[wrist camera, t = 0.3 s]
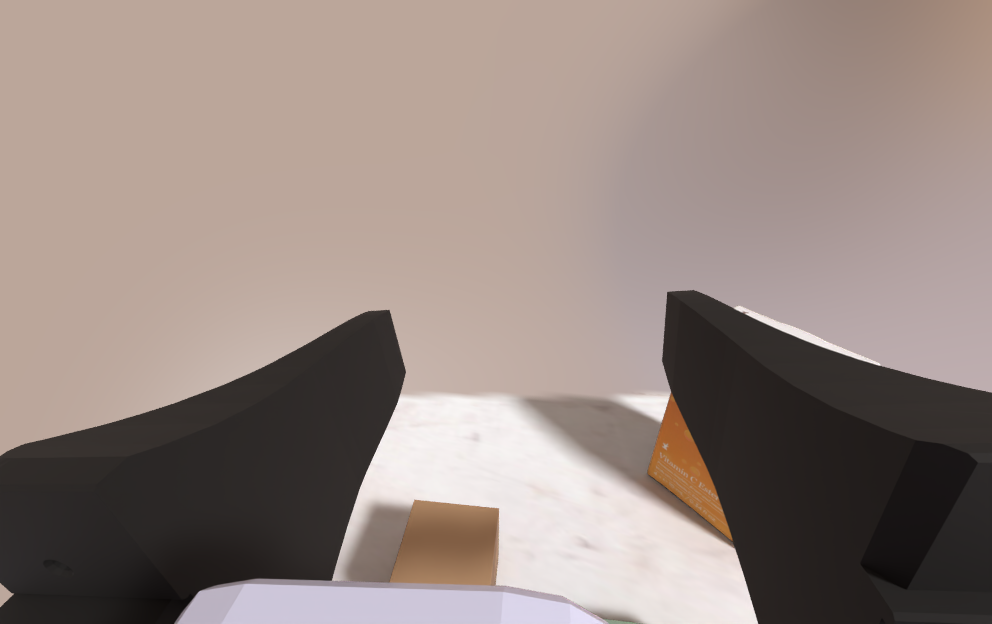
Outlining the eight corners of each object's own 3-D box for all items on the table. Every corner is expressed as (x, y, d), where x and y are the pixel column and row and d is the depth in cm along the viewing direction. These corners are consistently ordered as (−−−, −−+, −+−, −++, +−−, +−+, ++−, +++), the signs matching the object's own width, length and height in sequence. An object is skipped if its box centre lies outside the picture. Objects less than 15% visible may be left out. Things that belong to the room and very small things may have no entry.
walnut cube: (488, 650, 23) (488, 604, 20) (398, 638, 23) (386, 591, 21) (498, 556, 27) (498, 508, 24) (422, 548, 27) (414, 499, 25)
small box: (644, 474, 32) (684, 333, 25) (691, 436, 35) (738, 301, 29) (752, 562, 27) (840, 410, 20) (796, 507, 30) (884, 361, 23)
